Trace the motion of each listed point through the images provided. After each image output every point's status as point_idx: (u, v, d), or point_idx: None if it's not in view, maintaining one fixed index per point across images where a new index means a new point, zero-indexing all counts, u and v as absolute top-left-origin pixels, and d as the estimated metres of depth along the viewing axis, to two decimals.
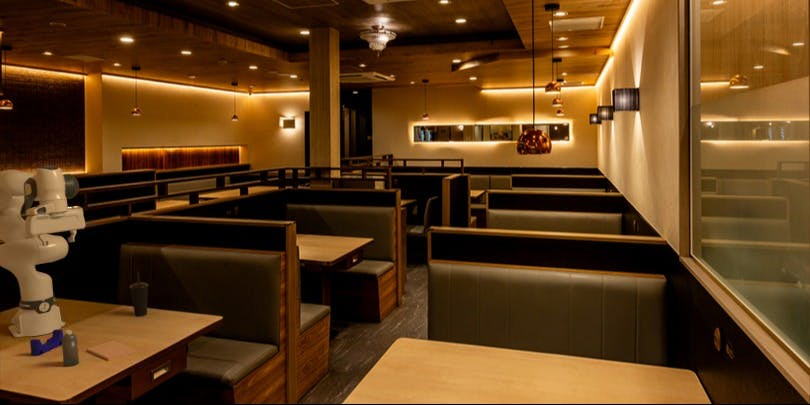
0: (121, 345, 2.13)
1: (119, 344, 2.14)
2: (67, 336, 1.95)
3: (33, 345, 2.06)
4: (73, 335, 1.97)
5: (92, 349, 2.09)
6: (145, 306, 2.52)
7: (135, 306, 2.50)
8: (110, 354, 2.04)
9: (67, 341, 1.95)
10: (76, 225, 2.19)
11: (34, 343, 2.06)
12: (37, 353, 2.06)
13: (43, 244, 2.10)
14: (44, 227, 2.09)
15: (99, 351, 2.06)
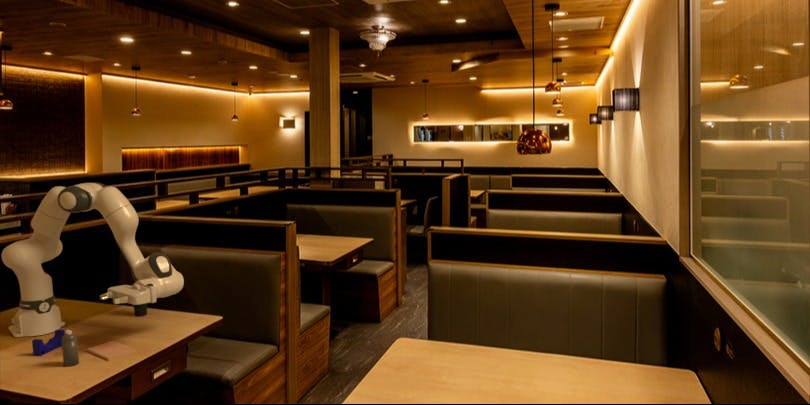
0: (121, 345, 2.13)
1: (119, 344, 2.14)
2: (67, 336, 1.95)
3: (35, 345, 2.06)
4: (73, 335, 1.97)
5: (92, 349, 2.09)
6: (145, 306, 2.52)
7: (135, 306, 2.50)
8: (110, 354, 2.04)
9: (67, 341, 1.95)
10: None
11: (36, 343, 2.06)
12: (39, 353, 2.06)
13: (116, 301, 2.04)
14: None
15: (99, 351, 2.06)
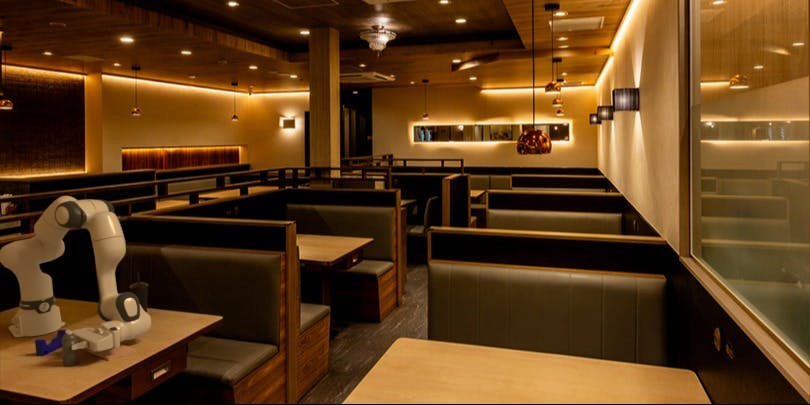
0: (121, 345, 2.13)
1: None
2: (67, 336, 1.95)
3: (38, 345, 2.06)
4: (73, 335, 1.97)
5: None
6: (145, 306, 2.52)
7: None
8: (110, 354, 2.04)
9: (67, 341, 1.95)
10: None
11: (39, 343, 2.05)
12: (42, 353, 2.06)
13: (74, 347, 1.95)
14: None
15: (99, 351, 2.06)
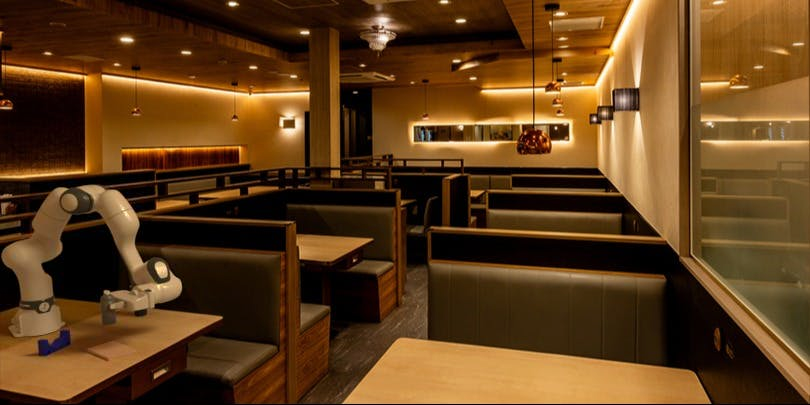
0: (121, 345, 2.13)
1: (119, 344, 2.14)
2: (105, 296, 2.05)
3: (41, 345, 2.05)
4: (111, 295, 2.07)
5: (92, 349, 2.09)
6: None
7: None
8: (110, 354, 2.04)
9: (105, 301, 2.05)
10: None
11: (42, 343, 2.05)
12: (45, 353, 2.06)
13: (112, 307, 2.05)
14: None
15: (99, 351, 2.06)
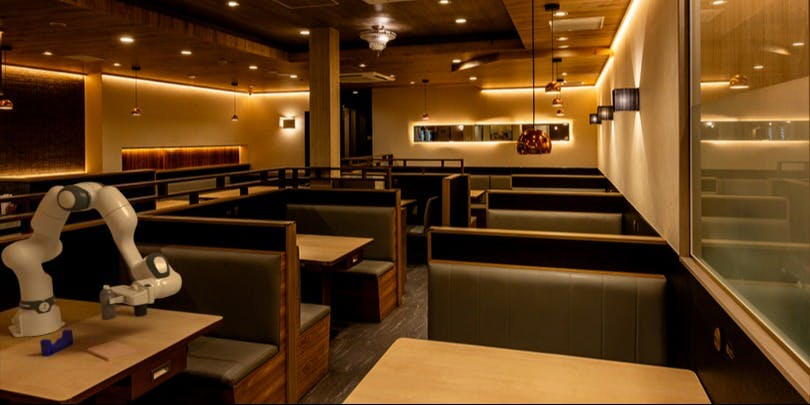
0: (121, 345, 2.13)
1: (119, 344, 2.14)
2: (105, 291, 2.05)
3: (43, 345, 2.05)
4: (110, 290, 2.06)
5: (92, 349, 2.09)
6: (145, 306, 2.52)
7: (135, 306, 2.50)
8: (110, 354, 2.04)
9: (105, 295, 2.05)
10: None
11: (44, 343, 2.05)
12: (47, 353, 2.06)
13: (111, 301, 2.05)
14: None
15: (99, 351, 2.06)
